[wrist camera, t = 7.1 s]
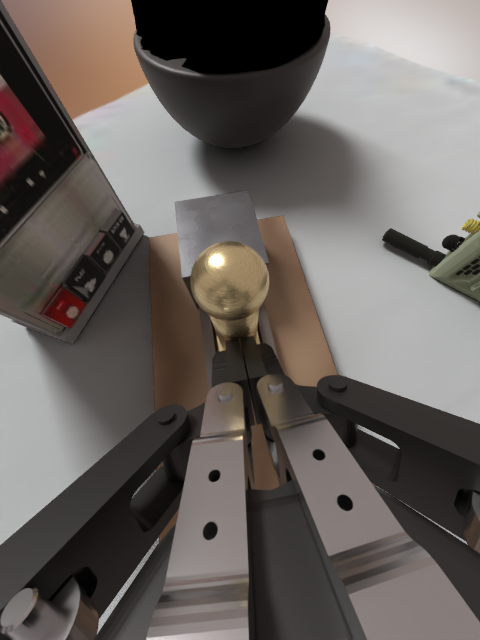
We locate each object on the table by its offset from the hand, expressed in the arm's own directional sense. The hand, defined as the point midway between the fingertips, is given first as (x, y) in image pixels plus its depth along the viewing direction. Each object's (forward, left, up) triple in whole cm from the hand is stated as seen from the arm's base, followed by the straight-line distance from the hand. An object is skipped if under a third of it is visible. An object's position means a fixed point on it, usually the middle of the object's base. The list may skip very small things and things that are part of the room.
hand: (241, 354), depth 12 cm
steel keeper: (0, +10, -6) cm, 12 cm away
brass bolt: (0, +5, -6) cm, 8 cm away
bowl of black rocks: (+5, +33, -9) cm, 35 cm away
